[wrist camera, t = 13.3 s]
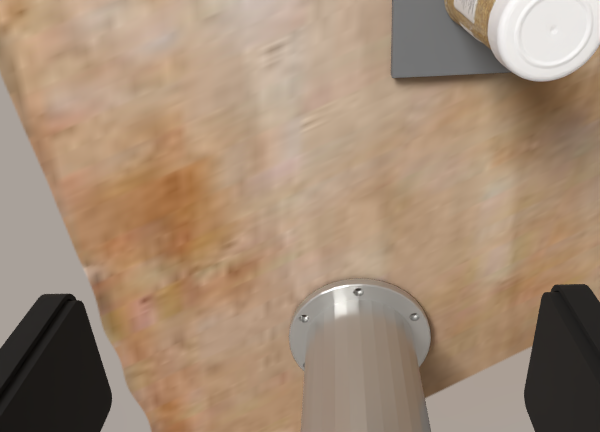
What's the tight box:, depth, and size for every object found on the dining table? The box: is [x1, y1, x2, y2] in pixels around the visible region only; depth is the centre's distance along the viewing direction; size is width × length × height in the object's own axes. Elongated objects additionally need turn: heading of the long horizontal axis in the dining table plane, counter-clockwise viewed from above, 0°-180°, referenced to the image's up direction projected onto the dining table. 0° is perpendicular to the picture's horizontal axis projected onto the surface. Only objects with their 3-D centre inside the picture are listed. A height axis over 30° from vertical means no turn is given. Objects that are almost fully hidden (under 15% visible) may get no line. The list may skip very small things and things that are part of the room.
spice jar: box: [444, 0, 600, 82], centre depth 29 cm, size 5×5×14 cm
